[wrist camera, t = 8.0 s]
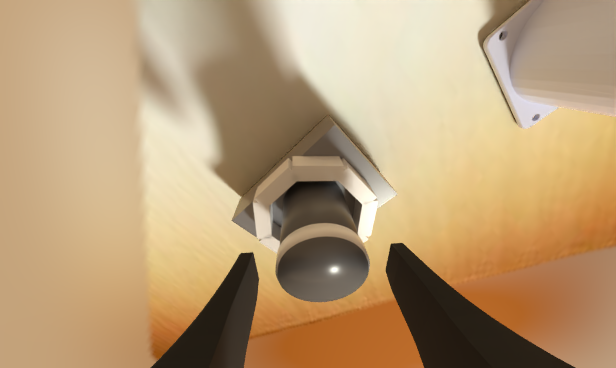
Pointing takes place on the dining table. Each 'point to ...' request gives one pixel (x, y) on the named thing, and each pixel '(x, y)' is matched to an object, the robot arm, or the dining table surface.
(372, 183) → the octagonal ring base
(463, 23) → the dining table surface
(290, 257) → the lens
